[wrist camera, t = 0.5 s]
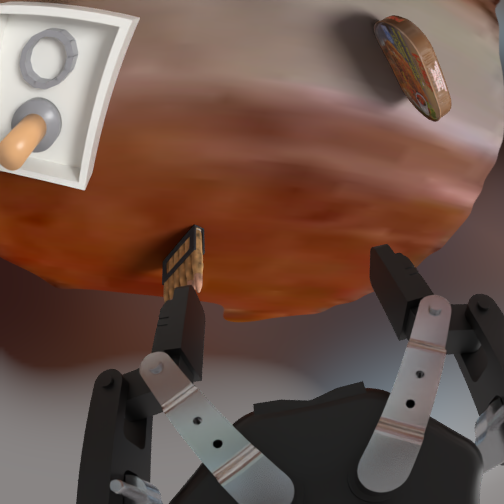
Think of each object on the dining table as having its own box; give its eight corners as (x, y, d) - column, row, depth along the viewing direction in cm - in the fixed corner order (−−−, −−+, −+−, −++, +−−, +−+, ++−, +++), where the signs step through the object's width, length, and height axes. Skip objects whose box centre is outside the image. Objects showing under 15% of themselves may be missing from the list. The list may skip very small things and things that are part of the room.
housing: (-11, 150, 29) (-41, 188, 23) (10, 1, 15) (-34, 13, 9) (92, 173, 37) (74, 216, 31) (140, 17, 23) (120, 24, 17)
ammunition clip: (171, 265, 54) (170, 324, 46) (162, 262, 53) (160, 321, 45) (204, 228, 48) (208, 290, 40) (194, 224, 47) (196, 286, 39)
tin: (363, 18, 26) (402, 29, 20) (382, 8, 25) (423, 18, 19) (408, 106, 36) (442, 134, 30) (424, 96, 34) (459, 123, 29)
